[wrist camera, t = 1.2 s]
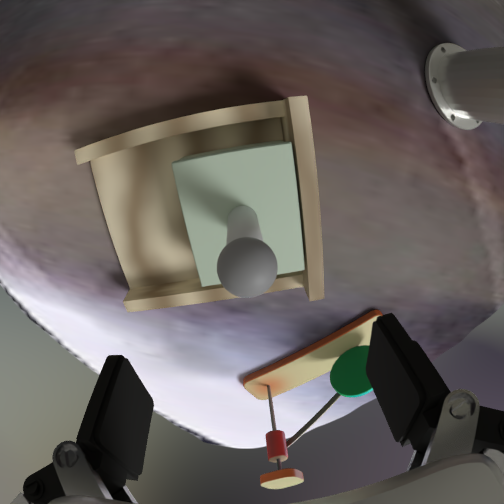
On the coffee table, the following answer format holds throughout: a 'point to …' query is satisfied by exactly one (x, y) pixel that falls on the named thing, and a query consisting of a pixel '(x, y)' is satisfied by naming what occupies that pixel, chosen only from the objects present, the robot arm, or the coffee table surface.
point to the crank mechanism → (305, 369)
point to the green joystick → (242, 215)
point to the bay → (168, 204)
